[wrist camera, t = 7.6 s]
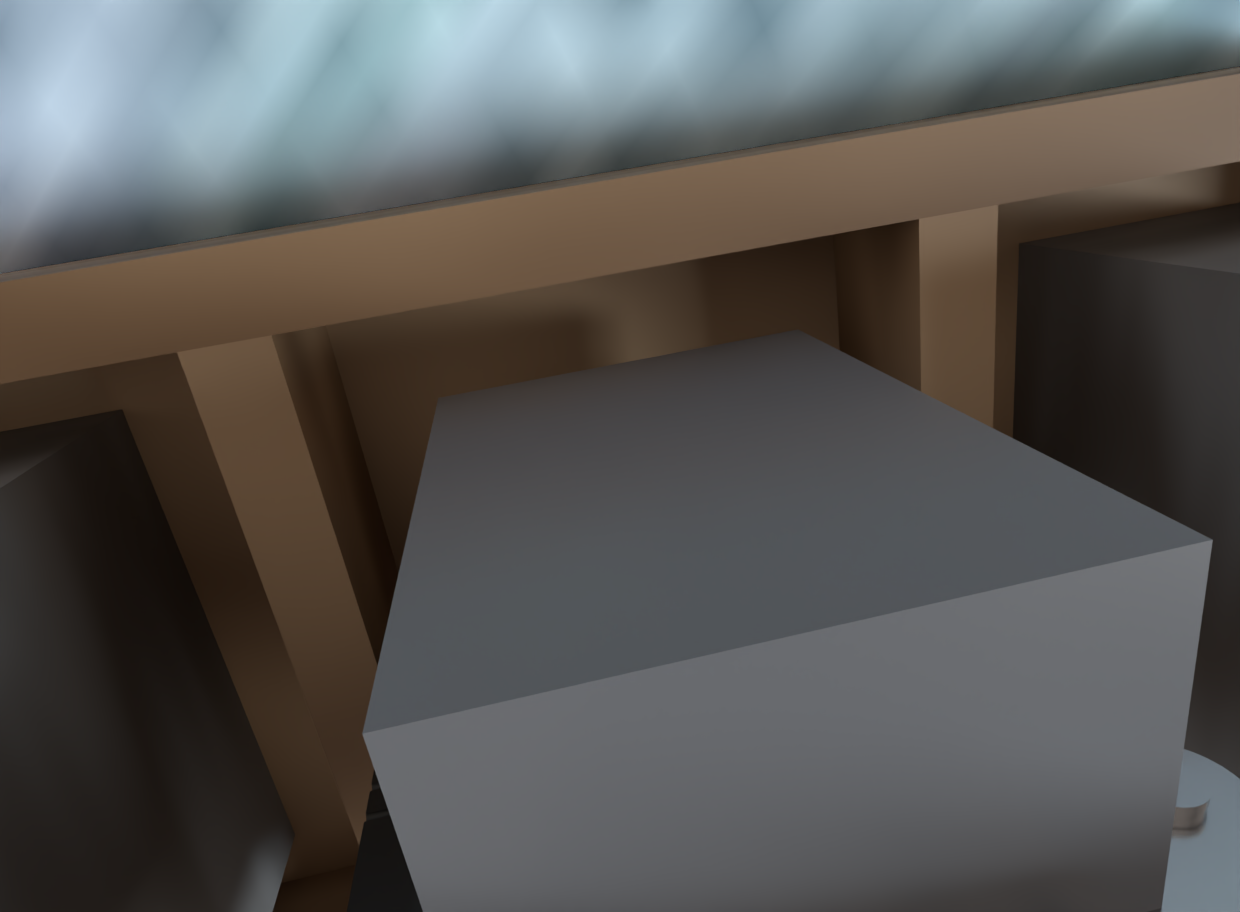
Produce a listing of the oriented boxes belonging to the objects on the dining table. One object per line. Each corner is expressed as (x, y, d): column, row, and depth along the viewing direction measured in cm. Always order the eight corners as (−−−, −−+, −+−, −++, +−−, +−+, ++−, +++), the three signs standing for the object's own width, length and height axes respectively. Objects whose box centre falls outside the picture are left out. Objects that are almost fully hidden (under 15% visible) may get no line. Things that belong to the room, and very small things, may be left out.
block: (438, 398, 9) (363, 733, 4) (798, 329, 10) (1214, 538, 4) (558, 881, 12) (617, 1481, 7) (832, 813, 13) (1104, 1321, 7)
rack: (-401, 340, 11) (-1845, 615, 4) (1349, 47, 13) (2220, -77, 6) (0, 964, 15) (-375, 1572, 8) (1245, 659, 17) (1698, 951, 11)
